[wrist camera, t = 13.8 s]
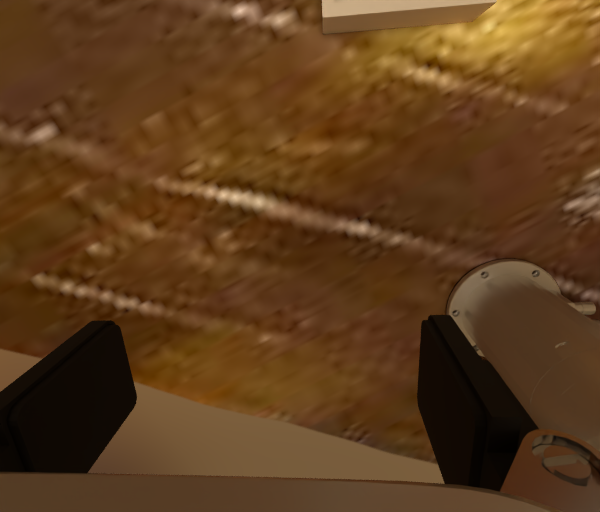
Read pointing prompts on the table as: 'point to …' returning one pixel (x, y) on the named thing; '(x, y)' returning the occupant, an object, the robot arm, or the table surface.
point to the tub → (397, 13)
